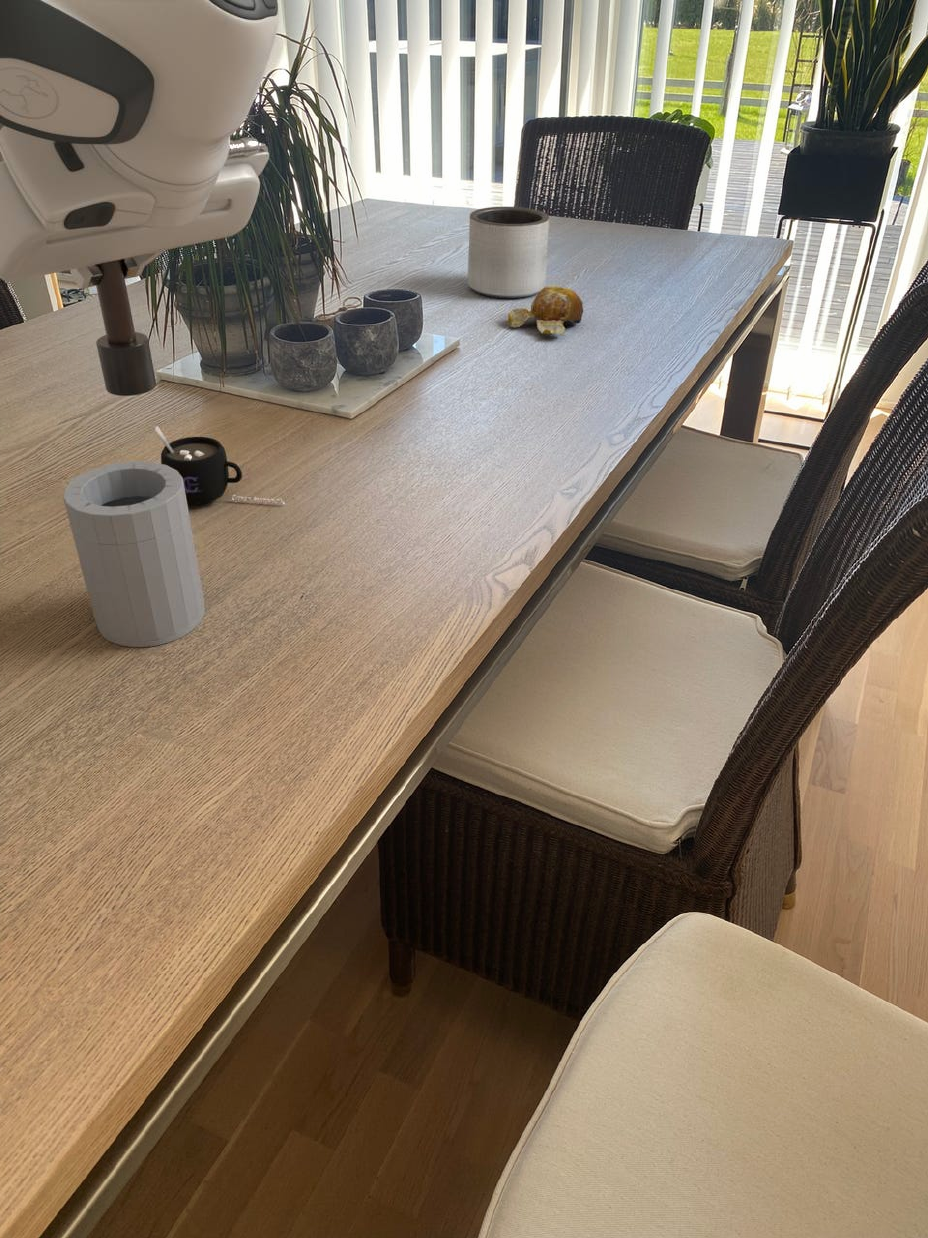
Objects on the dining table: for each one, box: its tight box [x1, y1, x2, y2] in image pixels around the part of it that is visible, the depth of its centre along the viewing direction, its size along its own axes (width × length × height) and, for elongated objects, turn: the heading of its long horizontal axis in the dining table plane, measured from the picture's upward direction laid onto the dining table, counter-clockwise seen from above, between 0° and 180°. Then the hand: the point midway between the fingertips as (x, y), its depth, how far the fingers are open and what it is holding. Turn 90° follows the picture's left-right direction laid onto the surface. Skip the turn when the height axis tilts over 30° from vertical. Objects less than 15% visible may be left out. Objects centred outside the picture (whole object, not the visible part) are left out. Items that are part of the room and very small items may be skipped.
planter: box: [467, 206, 550, 299], centre depth 150 cm, size 12×12×11 cm
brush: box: [95, 259, 157, 397], centre depth 74 cm, size 4×4×16 cm
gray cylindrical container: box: [62, 460, 206, 648], centre depth 75 cm, size 9×9×12 cm
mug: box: [154, 425, 285, 505], centre depth 92 cm, size 12×6×8 cm, turn 83°
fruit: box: [507, 286, 584, 336], centre depth 137 cm, size 11×11×5 cm
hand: (104, 274), depth 74 cm, fingers closed on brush, 2 cm apart
